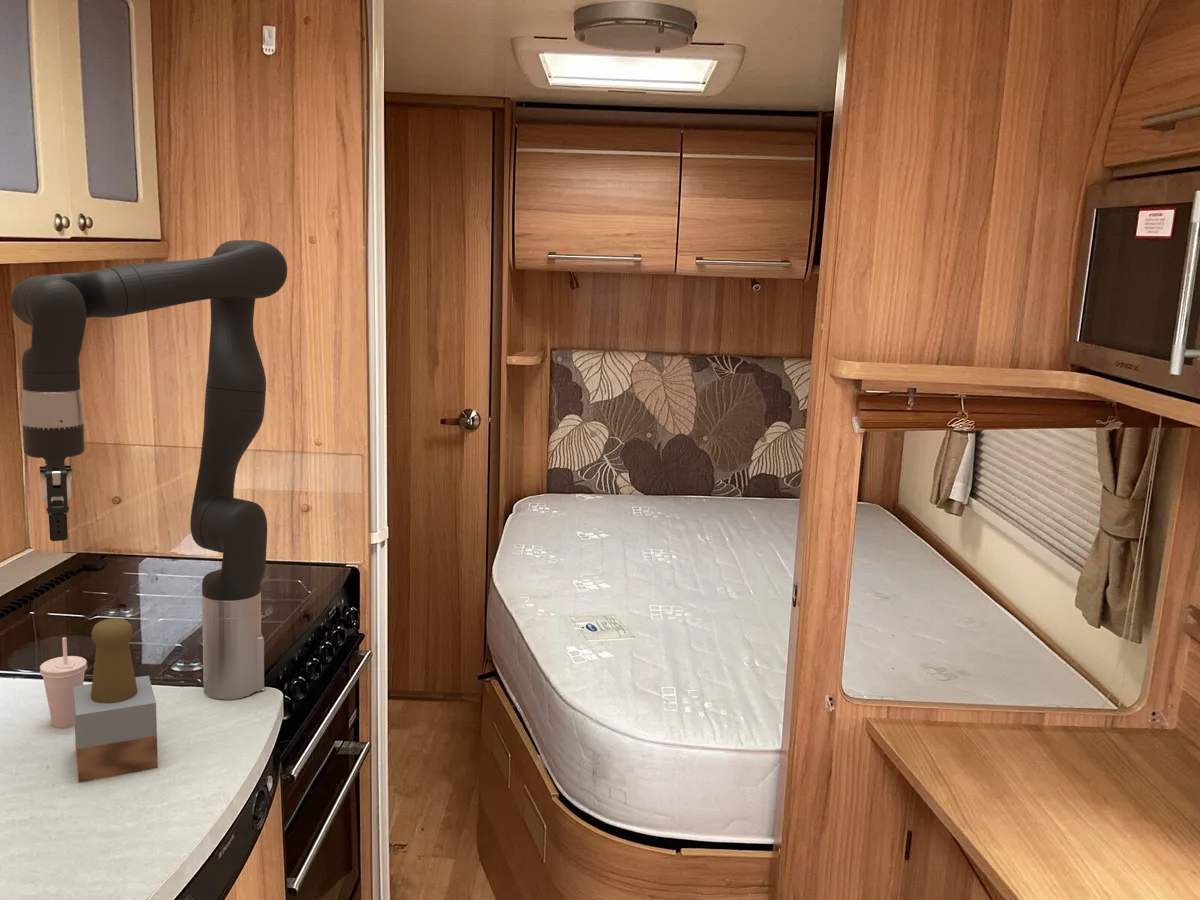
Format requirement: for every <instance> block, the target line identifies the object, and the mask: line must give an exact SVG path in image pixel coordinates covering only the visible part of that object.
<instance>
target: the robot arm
mask: <svg viewBox="0 0 1200 900" xmlns="http://www.w3.org/2000/svg"><path fill="white" fill-rule="evenodd" d="M287 277H288V265H287V260H286V258H285V256H284V255H283V254H282V252H281V251H280V250H279V249H278V248H277V247H275V246H274V245H272V244H270V243H268V242H265V241H261V240H256V239H255V240H252V239H251V240H249V239H246V240H245V239H241V240H240V239H239V240H238V239H237V240H236V239H235V240H228V241H225V242H223V243H221V244H220V245H219V246H217V247H216V249H215V250H214V252H213V254H212V256H208V257H201V258H195V259H184V260H169V261H167V260H166V261H153V262H151V261H150V262H141V263H133V264H126V265H119V266H118V265H117V266H114V267H113V266H112V267H105V268H100V269H96V270H91V271H87V272H86V271H85V272H72V273H71V272H70V273H69V272H68V273H55V274H54V273H52V274H45V275H43V274H42V275H36V276H32V277H28V278H26V279H23V280H22V281H20V282H19V283H18V284H17V285H16V286H15V287H14V288H13V290H12V292H11V295H10V298H9V299H10V303H9V304H10V306H11V310H12V312H13V314H14V315H15V316H16V317H17V319H19V320H20V321H21V322H23V323H25V324H26V325H29V326H32V332H31V342H30V345H31V346H30V347H29V348H26V349H25V350H24V351H23V353H22V357H21V375H22V378H21V379H22V399H21V400H22V401H21V419H22V439H23V453H24V454H25V456H27V457H30V458H34V459H42V458H43V460H45V465H39V481H40V483H41V485H42V488H41V489H42V500H43V501H44V502H46V504H47V507H46V510H45V511H46V514H47V516H48V525H49V526H48V529H49V540H50V541H51V542H62V541H66V540H68V538H69V533H68V532H69V531H68V529H69V528H68V514H69V510H70V506H68V505H69V504H68V501H70V500H71V498H72V492H71V491H72V489H71V482H72V480H73V475H72V474H73V473H72V472H73V471H72V465H71V464H65V460H66V458H68V457H69V458H70V457H71V458H73V457H77V456H80V455H82V454H83V453H84V452H85V447H86V446H85V424H84V422H85V421H84V419H85V418H84V404H83V398H82V393H81V374H80V356H81V355H80V354H81V351H82V347H83V342H84V336H85V330H86V323H87V318H103V319H105V318H107V319H108V318H109V319H110V318H118V317H124V316H129V315H134V314H135V315H136V314H139V313H144V312H149V311H150V312H151V311H155V310H159V309H160V310H161V309H164V308H169V307H173V306H178V305H183V304H188V303H193V302H199V301H207V300H209V304H210V333H209V346H208V363H207V364H208V365H207V367H208V368H207V375H206V376H207V377H206V383H205V384H206V385H205V386H206V387H205V394H204V395H205V396H204V409H203V410H204V415H203V418H204V419H203V429H202V441H201V451H200V461H199V465H198V466H199V467H198V472H197V479H196V484H195V488H194V495H193V500H192V506H191V512H190V522H189V523H190V525H189V526H190V534H191V537H192V539H193V541H194V542H195V544H196V545H197V546H198V547H200V548H202V549H204V550H208V551H213V552H217V553H220V554H222V563H221V568H219V569H216V570H213V571H211V572H209V573H207V574H206V575H204V576H203V578H202V581H201V608H202V616H201V617H202V620H201V621H202V663H203V664H202V666H203V667H202V671H203V679H202V683H203V693H204V694H205V695H206V697H209V698H212V699H217V700H236V699H242V698H245V696H246V697H249V696H251V695H250V694H252V693H254V692H256V691H258V690H262V689H264V690H265V638H264V636H263V634H262V598H261V597H262V594H261V593H262V582H263V579H264V575H265V572H266V566H267V565H266V564H267V547H268V546H267V544H268V520H267V515H266V512H265V511H264V509H263V507H262V506H261V505H260V504H258V503H257V502H254V501H251V500H247V499H241V498H236V497H235V493H234V491H235V483H236V482H235V480H236V474H237V469H238V466H239V463H240V461H241V459H242V457H243V455H244V454H245V452H246V451H247V450H248V448H249V447H250V445H251V443H252V442H253V440H254V439H255V437H256V436H257V434H258V433H259V430H260V429H261V426H262V425H263V424H262V423H263V422H264V418H265V417H264V415H265V406H266V394H267V393H266V392H267V378H266V373H265V368H264V365H263V361H262V359H261V355H260V351H259V348H258V346H257V341H256V338H255V333H254V330H255V329H254V314H255V304H256V299H264V298H268V297H271V296H273V295H275V294H276V293H277V292H279V291H280V290H281V289H282V288H283V286H284V284H285V283H286V281H287ZM258 692H259V691H258ZM256 693H257V692H256ZM254 694H255V693H254ZM252 695H253V694H252Z"/></svg>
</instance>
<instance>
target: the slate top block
mask: <svg viewBox="0 0 1200 900" xmlns="http://www.w3.org/2000/svg"><path fill="white" fill-rule="evenodd" d="M135 679H136V685H137V690H138V692H137V694H136V695H135V696H134V697H132V698H131V699H128V700H126V701H122V702H118V703H109V704H106V703H97V702H94V701H92V699H91V689H92V683H87V684H83V685H79V686H73V694H74V718H75V725H74V731H75V730H76V741H77V749H81V748H87V747H93V746H99V745H105V744H111V743H116V742H122V741H128V740H134V739H140V738H146V737H152V736H157V737H158V728H157V727H158V726H157V725H158V724H157V720H158V719H157V700H156V697H155V693H154V690H153V685H152V682H151V678H150V675H143V676H138V677H137V676H135Z"/></svg>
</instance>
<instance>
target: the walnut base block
mask: <svg viewBox="0 0 1200 900" xmlns="http://www.w3.org/2000/svg"><path fill="white" fill-rule="evenodd" d="M74 734H75V735H74V738H75V756H76V769H77V779H78V784H79V783H85V782H90V780H91V781H95V780H94V779H96V780H101V779H106V778H105V777H107V778H111V777H117V776H122V774H123V775H128V774H132V773H134V774H135V773H137V772H143V770H144V771H148V770H154V769H159V765H158V764H159V762H158V735H157V736H152V737H146V738H140V739H134V740H128V741H122V742H116V743H111V744H105V745H99V746H93V747H87V748H81V749H77V741H76V730H75V729H74ZM100 778H101V779H100Z"/></svg>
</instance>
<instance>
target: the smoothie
mask: <svg viewBox="0 0 1200 900" xmlns="http://www.w3.org/2000/svg"><path fill="white" fill-rule="evenodd" d="M67 639H68V638H67V637H65V636H64V637H62V639H61V640H62V656H58V657H53V658H51V659H49V660H46V661H44V662H43V663H41V665H40V666H39V670H40V671H39V674H40V676H42V678H43V679H42V680H43V684H44V688H45V694H46V699H47V704H48V708H49V714H50V719H51V720H50V721H51V724H52V726H53V727H54V728H57V729H67V728H70V727H71V728H72V727H75V718H74V694H73V686H79V685H84V681H85V672H86V670H87V669H88V664H87V663H88V661H87V659H86V658H84V657H82V656H78V655H77V656H76V655H68V644H67V643H68V642H67V641H68V640H67Z"/></svg>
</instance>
